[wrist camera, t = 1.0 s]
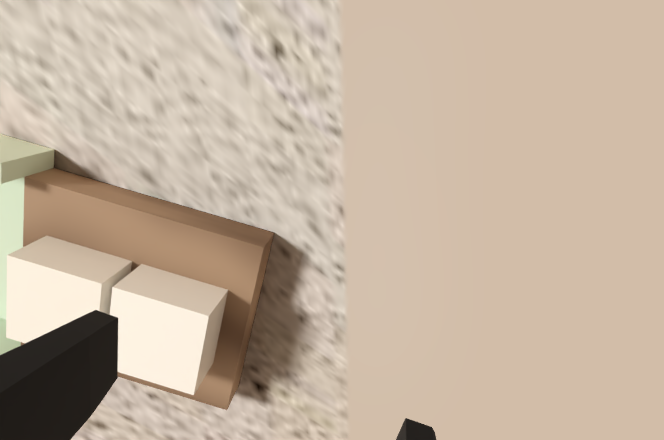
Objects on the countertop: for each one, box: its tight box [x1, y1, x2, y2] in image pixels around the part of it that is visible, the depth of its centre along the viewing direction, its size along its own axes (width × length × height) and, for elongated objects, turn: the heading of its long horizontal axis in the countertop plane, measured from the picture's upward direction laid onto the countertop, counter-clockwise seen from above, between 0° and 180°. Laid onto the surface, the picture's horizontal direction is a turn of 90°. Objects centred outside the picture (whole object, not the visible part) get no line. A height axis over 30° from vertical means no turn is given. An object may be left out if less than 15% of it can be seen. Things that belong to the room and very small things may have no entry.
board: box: [21, 168, 274, 410], centre depth 24 cm, size 10×12×2 cm
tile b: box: [6, 236, 132, 343], centre depth 22 cm, size 4×4×2 cm
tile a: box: [110, 264, 228, 395], centre depth 22 cm, size 4×4×2 cm
